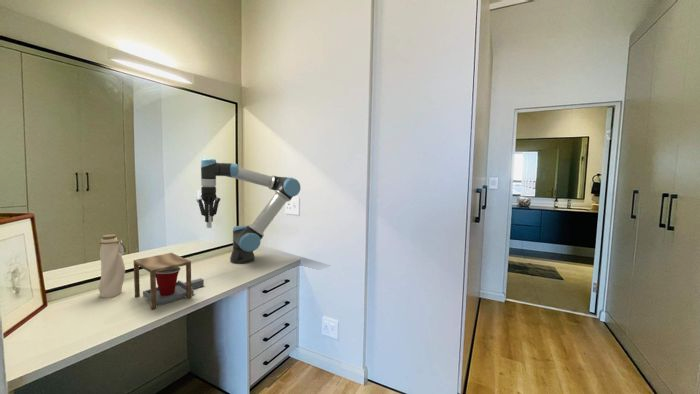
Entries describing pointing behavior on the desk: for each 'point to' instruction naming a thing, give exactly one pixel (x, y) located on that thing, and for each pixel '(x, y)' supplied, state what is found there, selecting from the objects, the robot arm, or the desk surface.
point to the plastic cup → (167, 281)
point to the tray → (178, 293)
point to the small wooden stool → (157, 265)
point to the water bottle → (111, 266)
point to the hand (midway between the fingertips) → (209, 227)
